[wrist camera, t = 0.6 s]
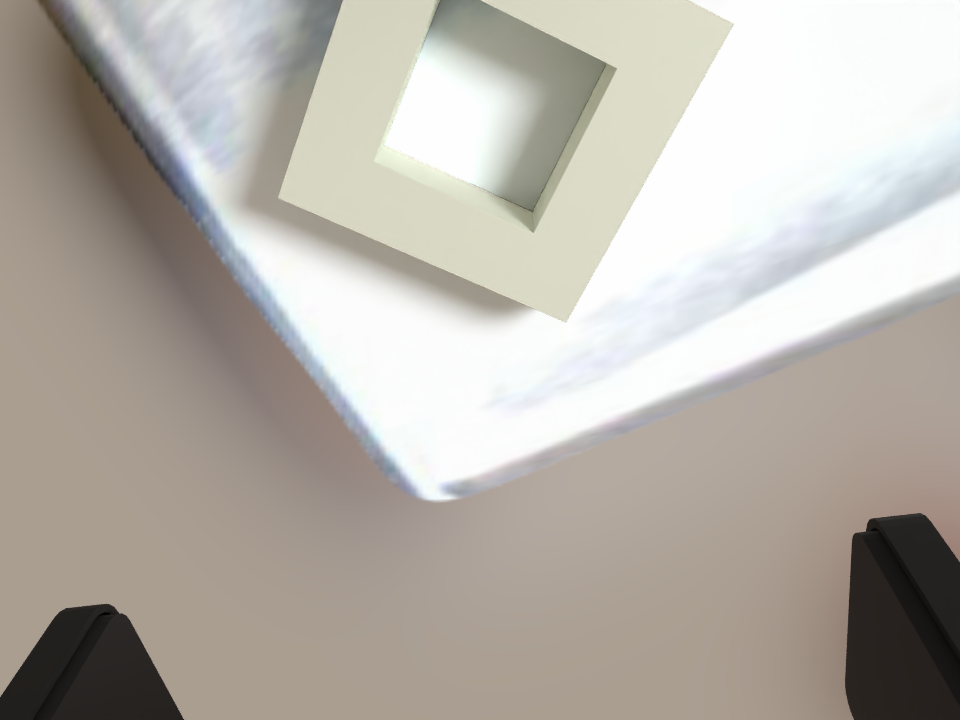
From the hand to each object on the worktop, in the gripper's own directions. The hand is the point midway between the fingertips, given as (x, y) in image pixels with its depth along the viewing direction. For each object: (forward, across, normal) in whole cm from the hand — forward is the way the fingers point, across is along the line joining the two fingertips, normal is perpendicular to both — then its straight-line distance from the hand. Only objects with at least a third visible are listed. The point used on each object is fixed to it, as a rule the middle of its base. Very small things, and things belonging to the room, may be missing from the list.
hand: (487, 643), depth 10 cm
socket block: (+29, 0, -2) cm, 29 cm away
